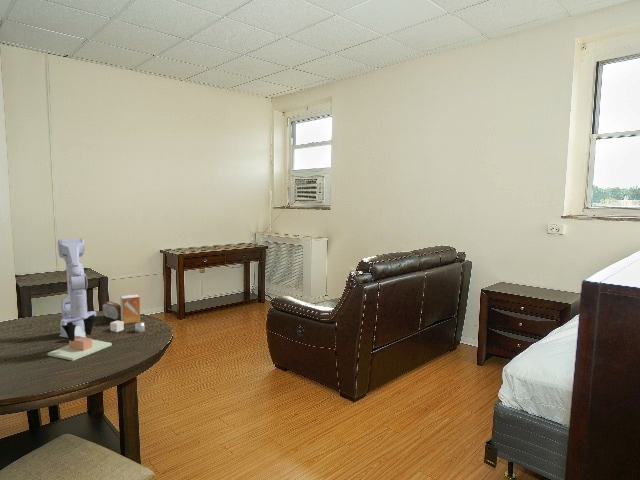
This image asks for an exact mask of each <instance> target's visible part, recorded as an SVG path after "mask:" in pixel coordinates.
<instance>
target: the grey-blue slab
mask: <svg viewBox="0 0 640 480" xmlns="http://www.w3.org/2000/svg"><path fill="white" fill-rule="evenodd" d="M84 332H85V331H84ZM84 332H83V331H82V329H81V327H80V326H76V327H75V337H76V336H80V337H86V338H87V335H85V334H84Z"/></svg>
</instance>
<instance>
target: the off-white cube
mask: <svg viewBox="0 0 640 480" xmlns="http://www.w3.org/2000/svg"><path fill="white" fill-rule="evenodd" d="M109 325H110V326H109V327H110V332H116V333H119V332H121V331H124V330H125V328H124V327H125V326H124V325H125V324H124V321H121V320H113V321H111V322H110V323H109Z"/></svg>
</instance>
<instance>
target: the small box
mask: <svg viewBox="0 0 640 480" xmlns="http://www.w3.org/2000/svg"><path fill="white" fill-rule="evenodd" d="M119 301H120V306H121V319H120V321H124V325H125V324H129V323H131V324H132V323H137V322H141V307H140V306H141V305H140V304H141V303H140V302H141V299H140V295H138V294H137V293H136V294H128V295H120V300H119Z"/></svg>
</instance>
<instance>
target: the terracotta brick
mask: <svg viewBox="0 0 640 480" xmlns="http://www.w3.org/2000/svg"><path fill="white" fill-rule="evenodd" d="M92 340H93V339H92V338H91V337H87V336H86V337H80V336H76V337H75V339H74V341H69V340H68V345H69V348H72V349H77V350H82V351H85V350H87V349H90V348H92Z"/></svg>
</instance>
